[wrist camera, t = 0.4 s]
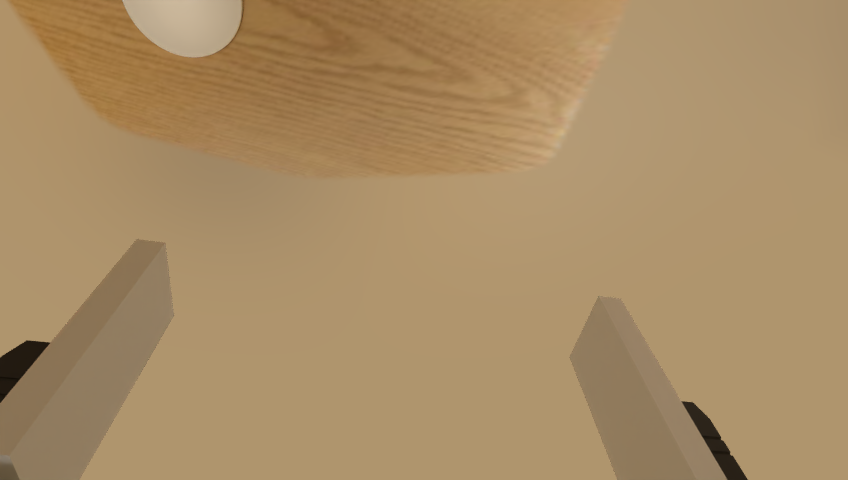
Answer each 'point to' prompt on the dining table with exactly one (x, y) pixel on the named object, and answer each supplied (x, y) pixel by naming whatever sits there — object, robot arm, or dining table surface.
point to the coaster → (187, 24)
